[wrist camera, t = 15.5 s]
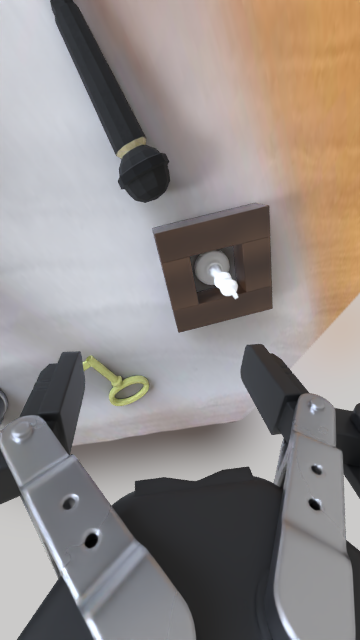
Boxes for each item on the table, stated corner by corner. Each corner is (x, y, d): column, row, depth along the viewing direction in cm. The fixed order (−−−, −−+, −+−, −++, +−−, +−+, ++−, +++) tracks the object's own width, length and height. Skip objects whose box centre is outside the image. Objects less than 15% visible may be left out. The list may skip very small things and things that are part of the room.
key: (88, 348, 39) (86, 356, 37) (154, 381, 44) (155, 389, 42) (65, 379, 41) (62, 388, 40) (130, 407, 46) (130, 416, 45)
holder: (260, 297, 39) (272, 308, 36) (175, 319, 39) (178, 332, 36) (255, 202, 33) (269, 205, 29) (152, 228, 32) (153, 234, 29)
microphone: (37, -1, 24) (144, 207, 32) (-14, -45, 19) (126, 214, 27) (80, -51, 22) (183, 185, 30) (35, -114, 17) (172, 188, 25)
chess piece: (206, 290, 38) (227, 323, 29) (187, 264, 35) (203, 291, 27) (235, 269, 37) (265, 297, 28) (217, 241, 34) (243, 262, 26)
